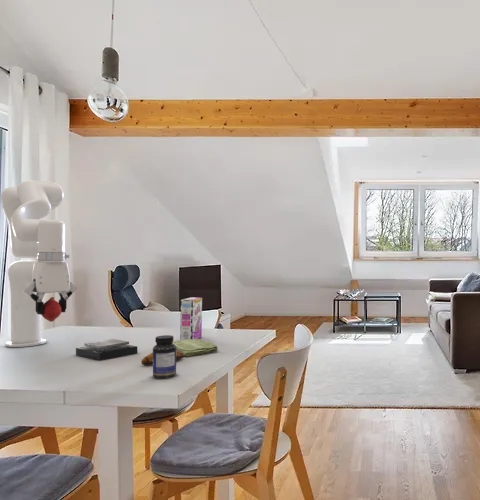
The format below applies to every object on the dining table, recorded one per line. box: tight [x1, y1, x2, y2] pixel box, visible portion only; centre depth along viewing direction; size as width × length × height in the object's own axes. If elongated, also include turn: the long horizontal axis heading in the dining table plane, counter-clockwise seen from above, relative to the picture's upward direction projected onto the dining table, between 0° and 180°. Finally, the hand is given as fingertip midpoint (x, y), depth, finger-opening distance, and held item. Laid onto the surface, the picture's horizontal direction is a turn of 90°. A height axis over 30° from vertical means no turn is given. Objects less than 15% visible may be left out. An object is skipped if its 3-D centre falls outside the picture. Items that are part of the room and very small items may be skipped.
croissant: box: [140, 350, 185, 366], centre depth 149 cm, size 14×7×5 cm, turn 138°
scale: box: [75, 344, 138, 361], centre depth 162 cm, size 15×13×3 cm
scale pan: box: [83, 338, 130, 349], centre depth 162 cm, size 10×10×1 cm
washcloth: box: [173, 338, 219, 357], centre depth 167 cm, size 13×18×3 cm
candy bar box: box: [179, 296, 203, 341], centre depth 188 cm, size 11×5×16 cm, turn 178°
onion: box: [41, 296, 63, 323], centre depth 155 cm, size 6×6×8 cm
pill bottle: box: [152, 334, 177, 380], centre depth 133 cm, size 6×6×11 cm
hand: (51, 312), depth 155 cm, fingers closed on onion, 5 cm apart
